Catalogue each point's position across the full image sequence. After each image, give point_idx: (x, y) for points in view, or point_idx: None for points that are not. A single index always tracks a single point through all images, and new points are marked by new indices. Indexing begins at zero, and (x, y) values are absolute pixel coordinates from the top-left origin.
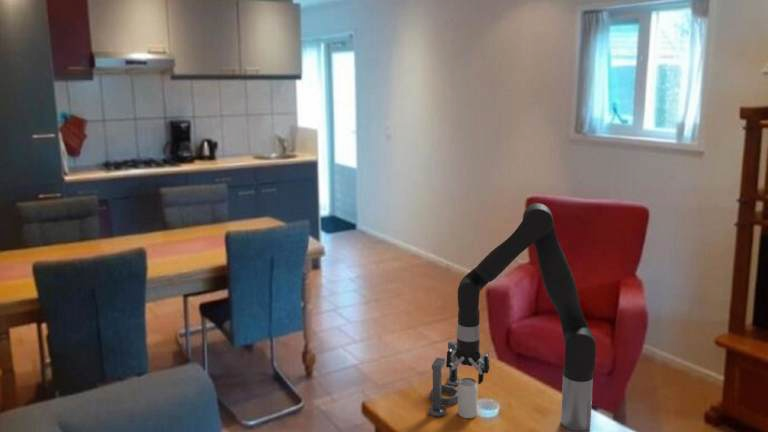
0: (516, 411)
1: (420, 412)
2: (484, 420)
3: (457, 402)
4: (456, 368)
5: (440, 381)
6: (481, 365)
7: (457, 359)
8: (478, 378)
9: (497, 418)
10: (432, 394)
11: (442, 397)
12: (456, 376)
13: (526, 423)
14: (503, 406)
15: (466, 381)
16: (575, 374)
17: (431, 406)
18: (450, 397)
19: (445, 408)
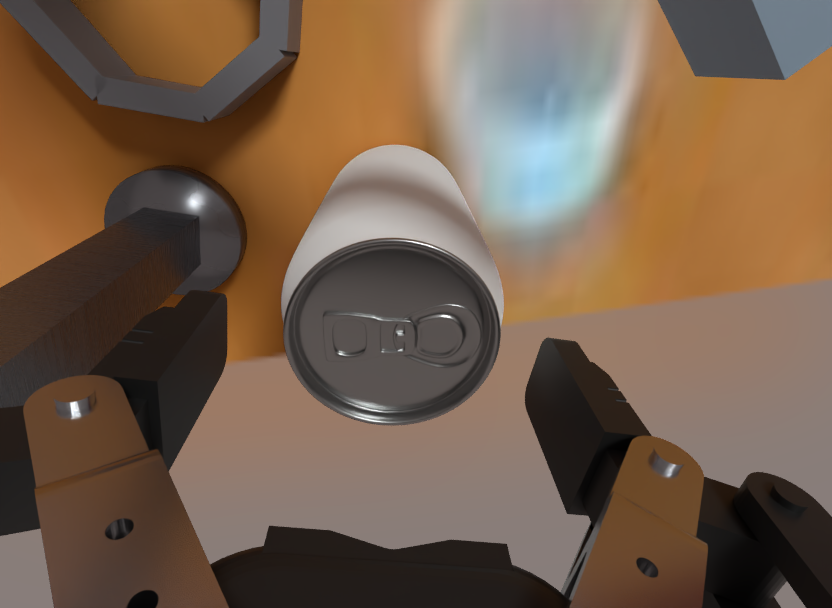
0: (753, 121)
1: (67, 238)
2: (507, 272)
3: (298, 50)
4: (158, 407)
5: (47, 380)
6: (689, 3)
7: (39, 516)
8: (546, 458)
9: (594, 237)
10: (38, 40)
11: (154, 89)
12: (217, 314)
13: (765, 268)
14: (675, 52)
15: (374, 320)
16: None
17: (113, 196)
18: (226, 77)
19: (228, 212)
